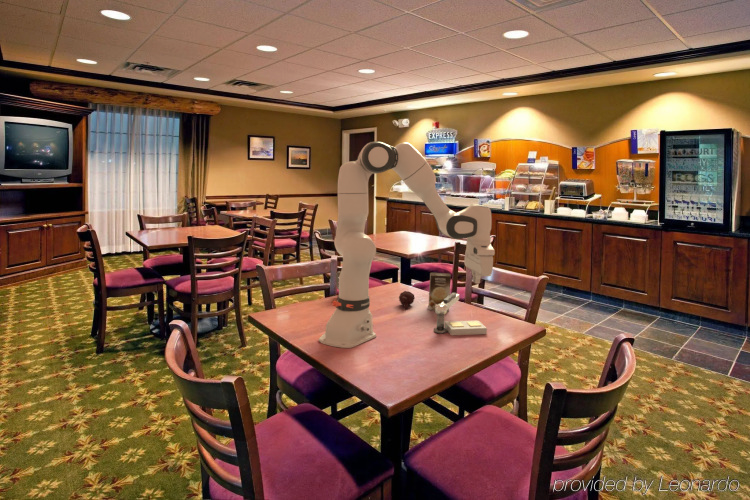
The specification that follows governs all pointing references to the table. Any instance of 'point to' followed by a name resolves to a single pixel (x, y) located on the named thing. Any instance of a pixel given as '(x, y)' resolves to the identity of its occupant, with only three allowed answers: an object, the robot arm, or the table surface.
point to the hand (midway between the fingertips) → (476, 282)
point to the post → (440, 324)
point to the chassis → (465, 327)
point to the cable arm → (446, 303)
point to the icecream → (406, 298)
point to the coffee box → (438, 288)
